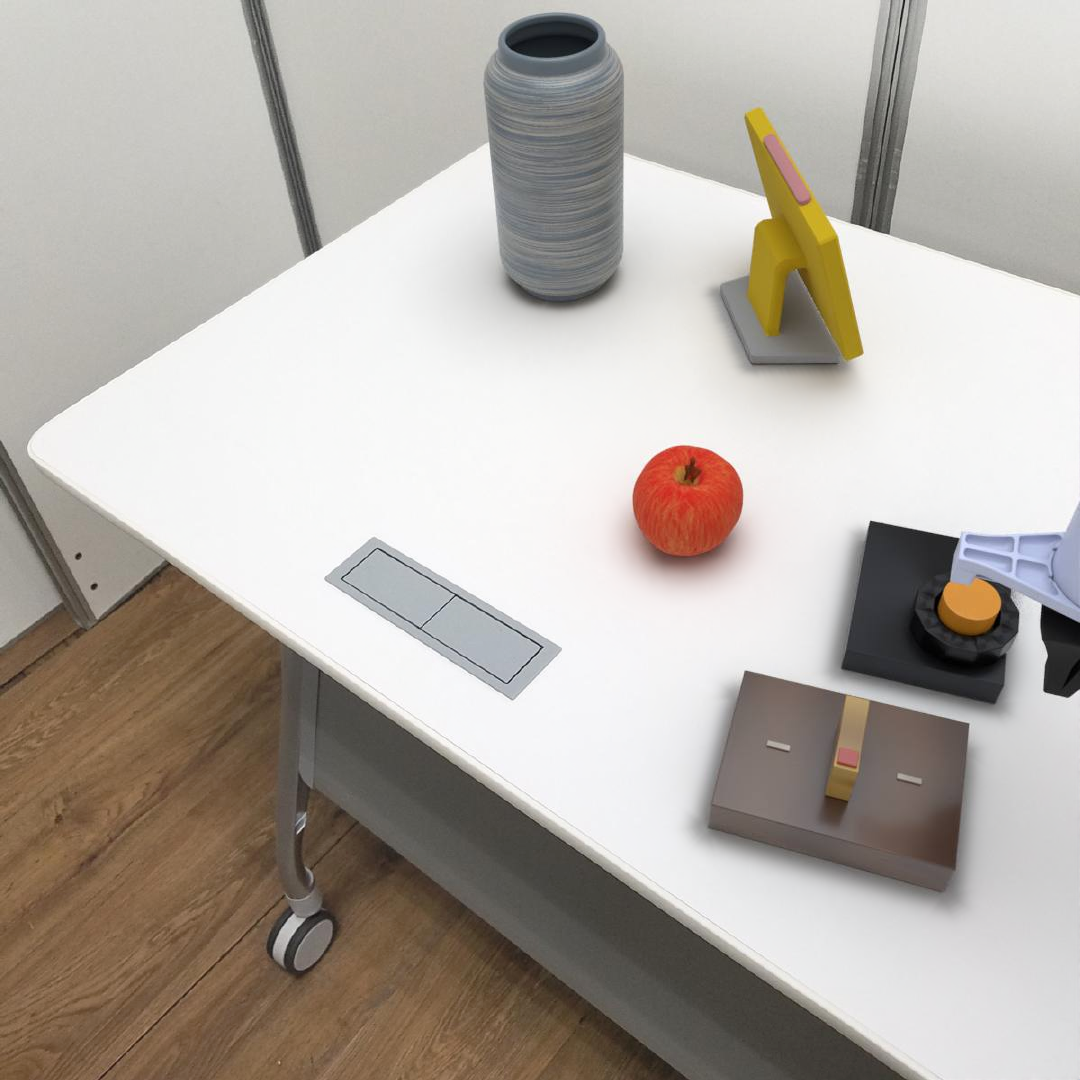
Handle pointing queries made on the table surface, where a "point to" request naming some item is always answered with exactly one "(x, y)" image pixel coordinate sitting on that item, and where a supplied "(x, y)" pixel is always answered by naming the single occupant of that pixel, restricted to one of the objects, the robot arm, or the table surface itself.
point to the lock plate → (879, 791)
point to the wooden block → (847, 748)
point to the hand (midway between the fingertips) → (1057, 680)
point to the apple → (687, 500)
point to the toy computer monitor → (791, 269)
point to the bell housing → (921, 618)
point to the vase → (557, 153)
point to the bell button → (969, 607)
